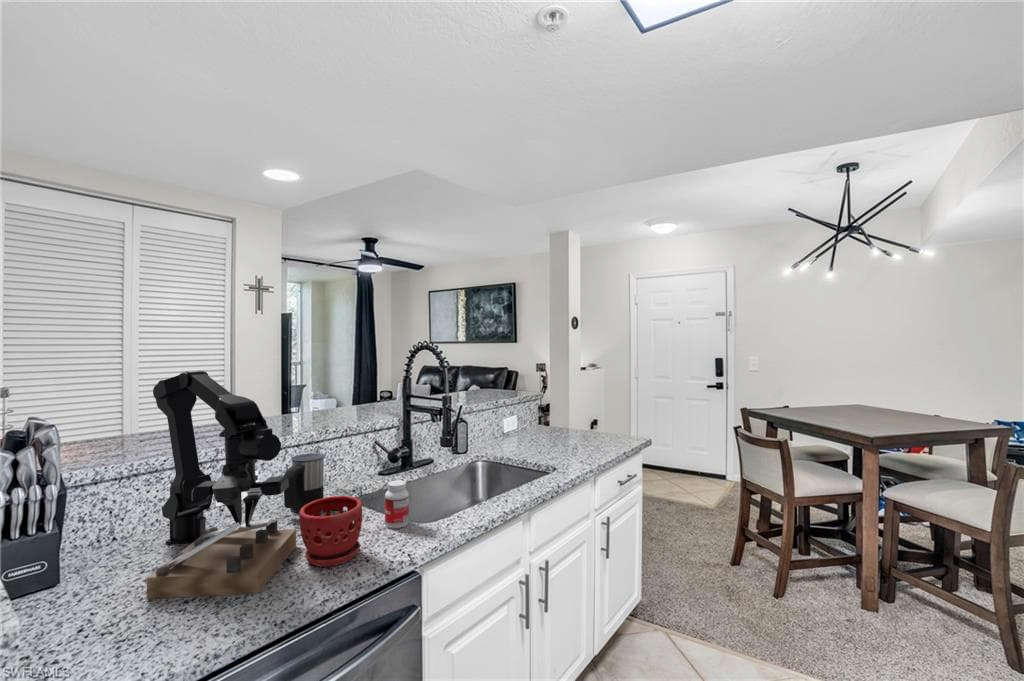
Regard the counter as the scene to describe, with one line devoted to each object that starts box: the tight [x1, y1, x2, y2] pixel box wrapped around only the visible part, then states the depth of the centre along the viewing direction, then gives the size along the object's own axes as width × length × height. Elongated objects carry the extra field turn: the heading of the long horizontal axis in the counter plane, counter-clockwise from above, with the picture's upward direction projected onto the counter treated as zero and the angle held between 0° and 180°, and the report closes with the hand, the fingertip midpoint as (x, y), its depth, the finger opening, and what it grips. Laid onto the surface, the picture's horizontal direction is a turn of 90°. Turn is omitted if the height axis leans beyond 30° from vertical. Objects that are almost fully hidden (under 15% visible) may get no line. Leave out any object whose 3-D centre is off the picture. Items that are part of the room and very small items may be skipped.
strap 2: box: [204, 517, 274, 540], centre depth 108 cm, size 14×3×1 cm, turn 96°
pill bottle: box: [384, 479, 410, 529], centre depth 126 cm, size 6×6×11 cm
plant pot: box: [298, 495, 363, 567], centre depth 107 cm, size 13×13×12 cm
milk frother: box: [283, 452, 339, 513], centre depth 136 cm, size 14×16×15 cm
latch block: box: [146, 519, 297, 600], centre depth 101 cm, size 20×21×6 cm
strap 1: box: [167, 522, 240, 568], centre depth 95 cm, size 14×3×1 cm, turn 95°
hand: (243, 525), depth 108 cm, fingers closed
